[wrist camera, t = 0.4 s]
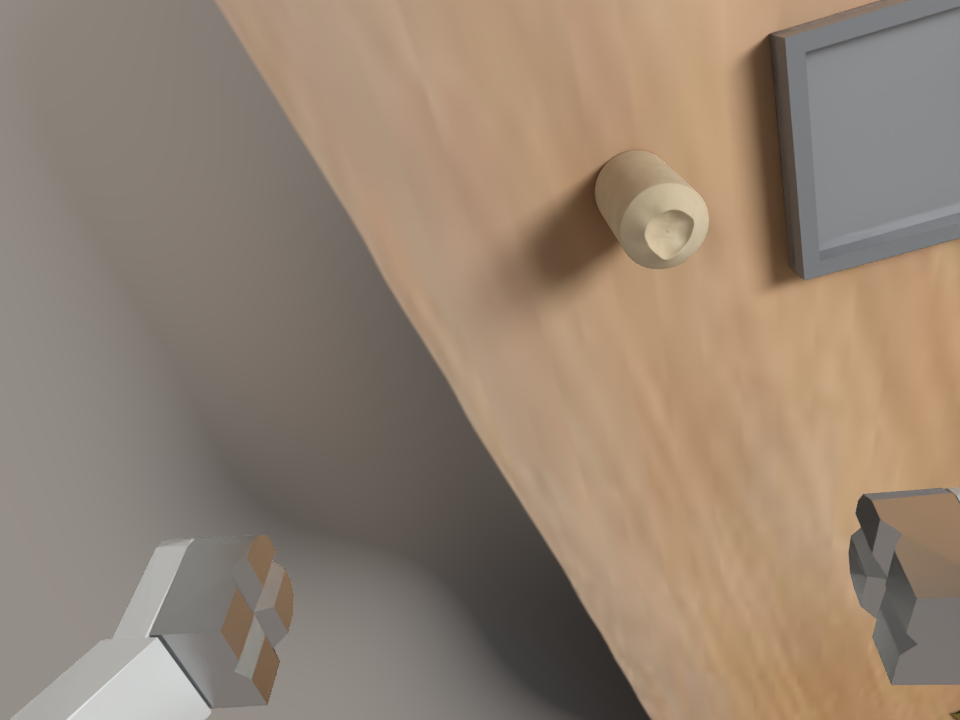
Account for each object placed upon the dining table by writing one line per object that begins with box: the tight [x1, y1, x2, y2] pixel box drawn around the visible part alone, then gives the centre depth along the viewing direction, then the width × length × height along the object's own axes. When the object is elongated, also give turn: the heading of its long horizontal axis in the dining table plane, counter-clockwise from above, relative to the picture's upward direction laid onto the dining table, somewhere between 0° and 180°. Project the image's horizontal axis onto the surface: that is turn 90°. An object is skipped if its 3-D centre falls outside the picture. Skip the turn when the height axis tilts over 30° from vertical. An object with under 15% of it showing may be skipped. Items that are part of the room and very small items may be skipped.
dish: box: [770, 0, 960, 280], centre depth 52 cm, size 17×17×2 cm
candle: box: [595, 150, 709, 269], centre depth 50 cm, size 6×6×10 cm
